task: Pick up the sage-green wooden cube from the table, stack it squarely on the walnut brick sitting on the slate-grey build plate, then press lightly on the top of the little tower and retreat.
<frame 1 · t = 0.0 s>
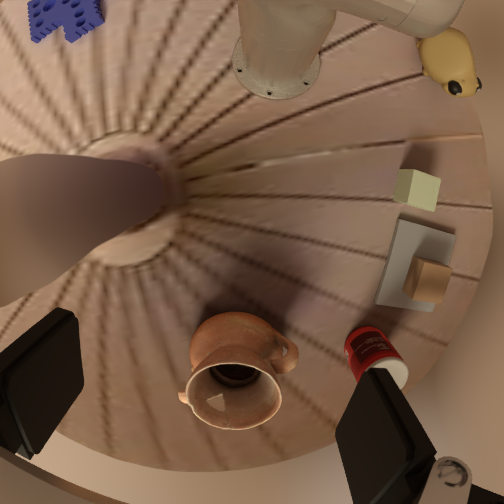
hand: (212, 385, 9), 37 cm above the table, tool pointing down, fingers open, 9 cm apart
build plate: (416, 267, 46), on the table
ceramic jug: (240, 342, 50), on the table
walnut brick: (421, 276, 46), point 1 cm above the table, touching build plate
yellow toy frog: (434, 70, 38), on the table
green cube: (409, 188, 43), on the table
canned food: (363, 343, 50), on the table
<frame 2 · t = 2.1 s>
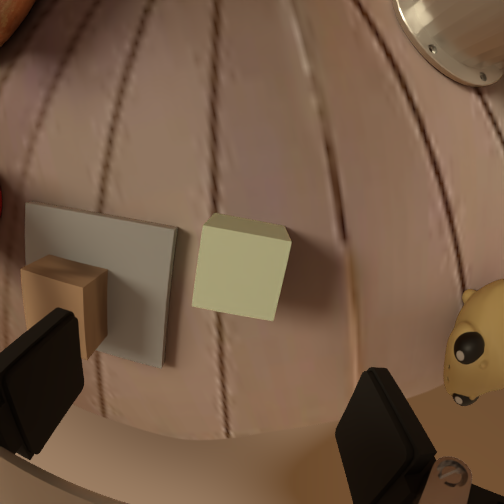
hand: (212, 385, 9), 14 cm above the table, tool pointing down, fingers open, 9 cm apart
build plate: (91, 283, 23), on the table
ceramic jug: (8, 14, 16), on the table
walnut brick: (76, 295, 23), point 1 cm above the table, touching build plate
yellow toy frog: (466, 314, 24), on the table
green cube: (243, 252, 23), on the table
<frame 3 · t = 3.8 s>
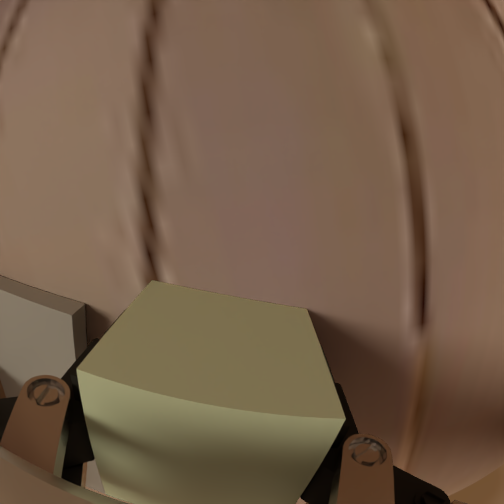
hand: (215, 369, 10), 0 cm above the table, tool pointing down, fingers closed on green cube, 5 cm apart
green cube: (217, 360, 10), on the table, touching gripper
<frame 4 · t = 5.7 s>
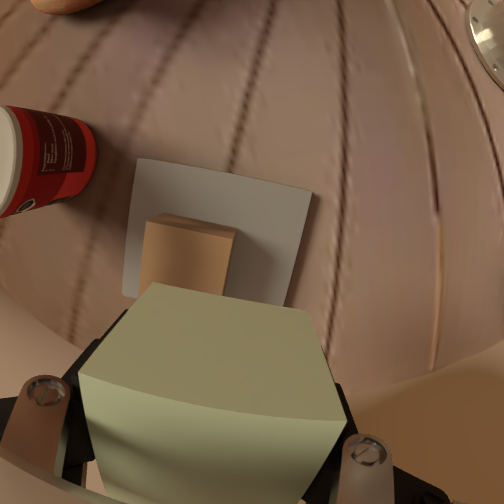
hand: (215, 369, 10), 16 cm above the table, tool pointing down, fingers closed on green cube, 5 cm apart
build plate: (209, 244, 26), on the table
walnut brick: (193, 256, 25), point 1 cm above the table, touching build plate
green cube: (218, 362, 10), point 16 cm above the table, touching gripper
canned food: (67, 159, 24), on the table
when the fingers open (7 cm above the table, at t = 7.9 s): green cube drops 1 cm, resting on walnut brick.
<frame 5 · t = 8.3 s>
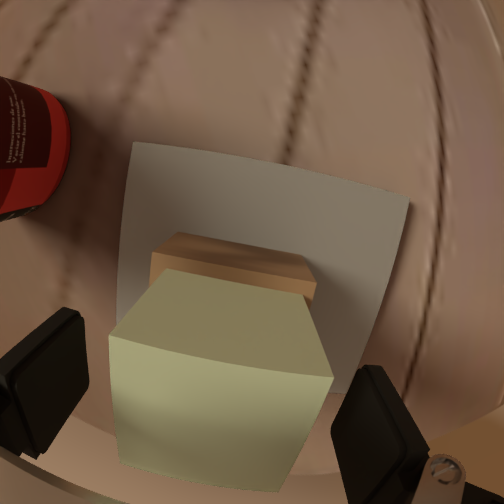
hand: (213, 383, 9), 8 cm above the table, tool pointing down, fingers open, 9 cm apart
build plate: (252, 279, 16), on the table
walnut brick: (228, 300, 15), point 1 cm above the table, touching build plate, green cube
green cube: (222, 341, 12), point 5 cm above the table, touching walnut brick
canned food: (29, 152, 15), on the table
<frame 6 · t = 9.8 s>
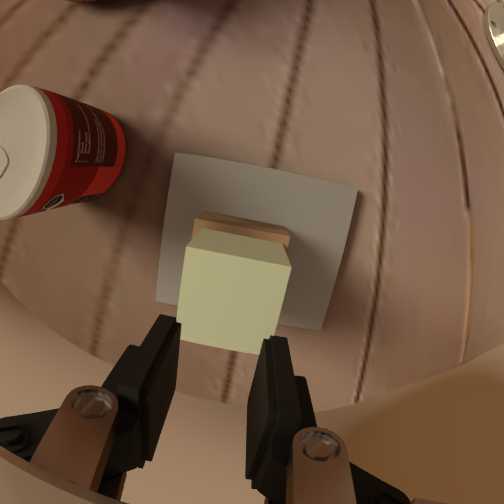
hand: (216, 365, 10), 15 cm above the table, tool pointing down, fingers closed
build plate: (252, 243, 25), on the table
walnut brick: (237, 257, 24), point 1 cm above the table, touching build plate, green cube
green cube: (235, 273, 20), point 5 cm above the table, touching walnut brick
canned food: (90, 155, 23), on the table
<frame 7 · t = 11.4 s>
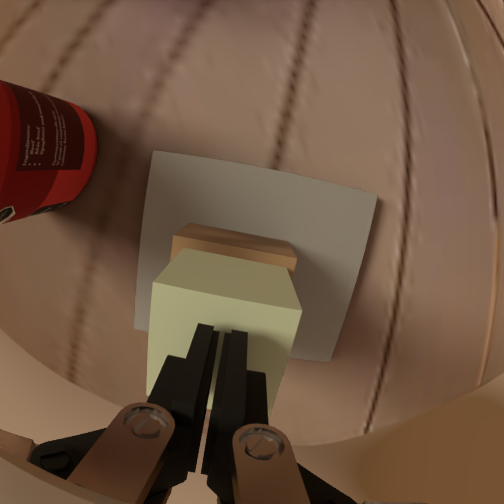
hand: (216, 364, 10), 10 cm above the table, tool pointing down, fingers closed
build plate: (248, 262, 20), on the table
walnut brick: (229, 278, 19), point 1 cm above the table, touching build plate, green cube
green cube: (226, 305, 15), point 5 cm above the table, touching walnut brick
canned food: (58, 156, 18), on the table
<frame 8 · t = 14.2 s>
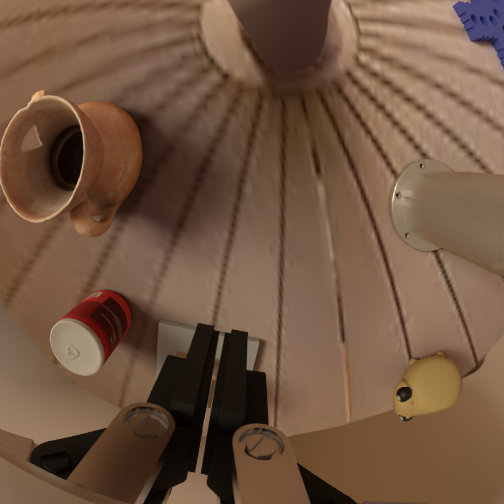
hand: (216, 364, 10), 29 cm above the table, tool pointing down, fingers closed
build plate: (204, 364, 43), on the table
ceramic jug: (102, 162, 37), on the table
building block: (499, 27, 29), on the table
walnut brick: (195, 371, 42), point 1 cm above the table, touching build plate, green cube
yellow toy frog: (413, 369, 44), on the table
canned food: (110, 312, 42), on the table
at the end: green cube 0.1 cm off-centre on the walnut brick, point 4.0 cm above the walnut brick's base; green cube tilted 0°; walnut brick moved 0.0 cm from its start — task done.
